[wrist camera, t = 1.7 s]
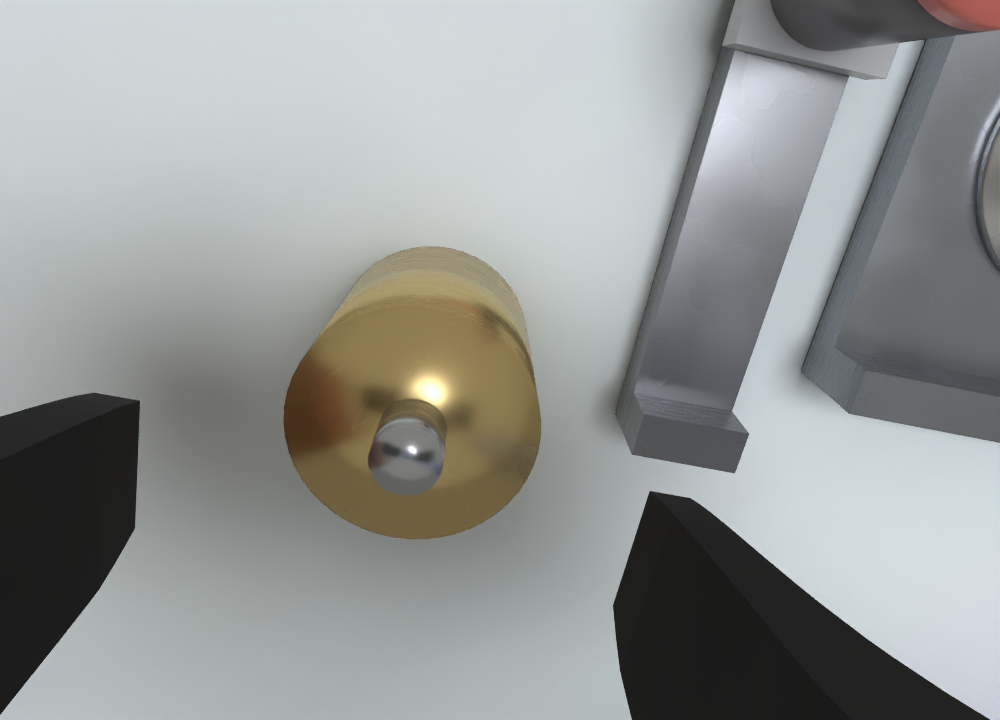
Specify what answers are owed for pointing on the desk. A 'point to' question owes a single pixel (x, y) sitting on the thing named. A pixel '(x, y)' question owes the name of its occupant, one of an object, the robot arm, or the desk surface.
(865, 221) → the plate
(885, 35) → the lever
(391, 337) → the cylinder
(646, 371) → the rail
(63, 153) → the desk surface
